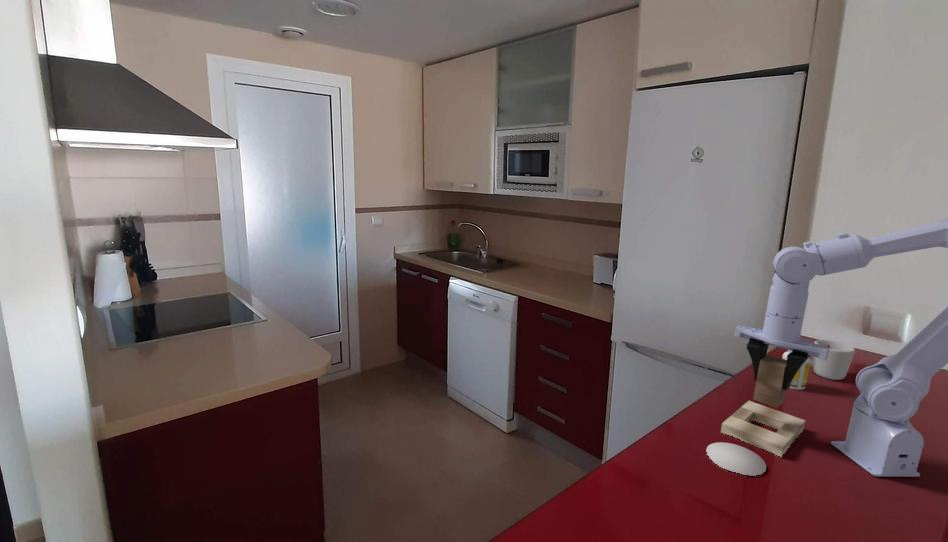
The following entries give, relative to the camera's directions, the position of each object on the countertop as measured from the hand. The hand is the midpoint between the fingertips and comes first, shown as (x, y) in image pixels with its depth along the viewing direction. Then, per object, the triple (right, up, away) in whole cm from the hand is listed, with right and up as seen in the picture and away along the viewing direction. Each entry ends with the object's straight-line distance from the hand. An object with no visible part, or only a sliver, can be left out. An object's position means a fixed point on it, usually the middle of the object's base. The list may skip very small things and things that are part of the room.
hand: (771, 383), depth 87 cm
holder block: (0, -10, +2) cm, 10 cm away
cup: (+31, -5, +29) cm, 42 cm away
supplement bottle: (+19, -6, +23) cm, 30 cm away
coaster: (-11, -11, -7) cm, 17 cm away
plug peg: (0, -3, +1) cm, 3 cm away
